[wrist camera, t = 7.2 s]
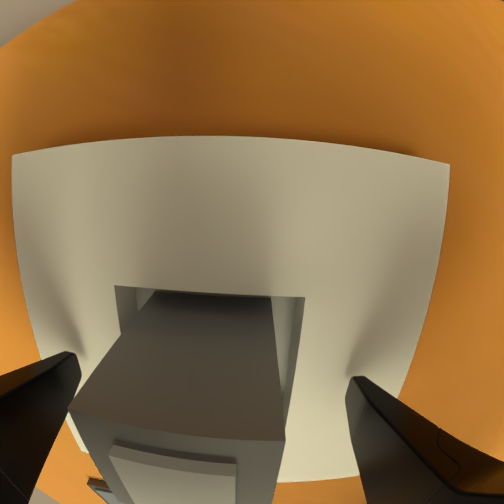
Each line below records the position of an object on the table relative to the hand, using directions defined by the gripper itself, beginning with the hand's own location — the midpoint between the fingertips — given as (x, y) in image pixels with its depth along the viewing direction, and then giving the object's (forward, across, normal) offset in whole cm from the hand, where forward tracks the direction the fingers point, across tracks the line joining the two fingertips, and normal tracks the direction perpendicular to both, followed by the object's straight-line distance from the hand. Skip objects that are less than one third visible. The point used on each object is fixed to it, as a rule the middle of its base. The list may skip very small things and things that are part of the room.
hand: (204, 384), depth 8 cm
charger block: (+2, 0, 0) cm, 2 cm away
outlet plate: (+3, 0, 0) cm, 3 cm away
